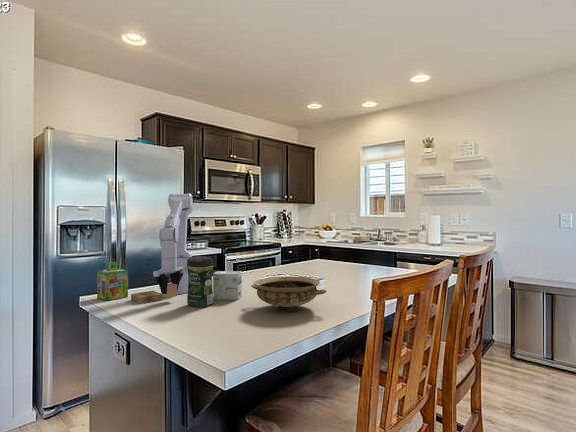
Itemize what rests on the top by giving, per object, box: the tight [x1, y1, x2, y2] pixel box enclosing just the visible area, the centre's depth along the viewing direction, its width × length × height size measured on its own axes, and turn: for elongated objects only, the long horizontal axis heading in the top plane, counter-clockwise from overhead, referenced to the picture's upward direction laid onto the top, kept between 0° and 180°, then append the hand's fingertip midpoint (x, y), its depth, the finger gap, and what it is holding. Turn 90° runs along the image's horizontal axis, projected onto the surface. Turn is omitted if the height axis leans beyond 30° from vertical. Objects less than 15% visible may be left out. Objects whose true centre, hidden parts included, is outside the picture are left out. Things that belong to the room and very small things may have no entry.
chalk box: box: [96, 261, 129, 301], centre depth 153 cm, size 9×9×15 cm
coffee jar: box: [186, 255, 214, 308], centre depth 139 cm, size 10×8×19 cm
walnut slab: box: [130, 290, 163, 305], centre depth 148 cm, size 9×9×3 cm
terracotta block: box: [161, 282, 178, 298], centre depth 144 cm, size 4×4×4 cm
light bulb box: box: [212, 270, 243, 301], centre depth 150 cm, size 11×7×11 cm, turn 84°
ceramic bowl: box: [251, 276, 327, 312], centre depth 132 cm, size 30×24×10 cm
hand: (169, 292), depth 144 cm, fingers closed on terracotta block, 5 cm apart
